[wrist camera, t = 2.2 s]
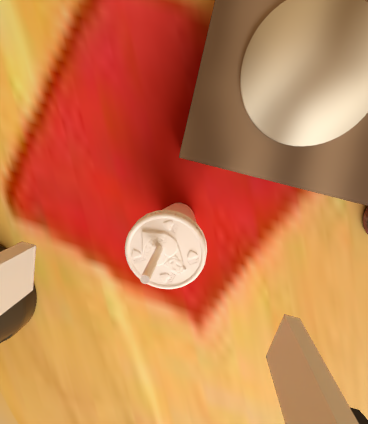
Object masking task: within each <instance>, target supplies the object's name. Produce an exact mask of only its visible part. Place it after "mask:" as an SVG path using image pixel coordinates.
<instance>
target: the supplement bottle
mask: <svg viewBox="0 0 368 424" xmlns="http://www.w3.org/2000/svg"><path fill="white" fill-rule="evenodd" d="M363 226H364V229H365V231H366V233H367V234H368V207H367V208H366V210H365V212H364V216H363Z"/></svg>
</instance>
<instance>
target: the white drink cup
mask: <svg viewBox="0 0 368 424" xmlns="http://www.w3.org/2000/svg"><path fill="white" fill-rule="evenodd" d="M125 254H126V259H127V262H128V264H129V266H130V268H131V270H132V271H133V272H134V274H135V275H136V276H137V277H138V278H139V279H140V280H141V282H142V283H144V284H149V285H151V286H153V287H157V288H161V289H175V288H180V287H183V286H185V285H187V284H189V283H190V282H192V281H193V280H194V279H196V277H197V276H198V275H199V274H200V273H201V271H202V269H203V267H204V264H205V260H206V254H207V244H206V239H205V237H204V234H203V231H202V230H201V229H200V227H199V226H198V225H197V223H196V219H195V216H194V213H193V211H192V209H191V208H190V207H189V206H187V205H186V204H183V203H174V204H172V205H170V206H168V207H166V208H164V209H163V210H158V211H154V212H151V213H148V214H146V215H145V216H143V217H142V218H140V219H139V220H138V221H137V222H136V224H135V225H134V226H133V227H132V229H131V230H130V232H129V234H128V236H127V239H126V243H125Z"/></svg>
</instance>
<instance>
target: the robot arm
mask: <svg viewBox="0 0 368 424" xmlns="http://www.w3.org/2000/svg"><path fill="white" fill-rule="evenodd" d="M35 252H36V245H32V244H29V243H25V242H20V243H18V244H16V245H14V246H12V247H10V248H8V249H5V248H4V247H2V246H0V343H1V342H3V341H5V340H7V339H9V338H10V337H12V336H13V335H14V334H16V333H17V332H18V331H19V330H20V329H21V328H22V327H23V326H24V325H25V324H26V323H27V322H28V321H29V320H30V319H31V317H32V315H33V313H34V311H35V307H36V291H35V286H34V283H33V282H34V267H35ZM266 358H267V362H268V365H269V369H270V372H271V376H272V379H273V383H274V386H275V389H276V393H277V396H278V400H279V403H280V407H281V410H282V414H283V417H284V420H285V424H368V420H367V419H366V417H365V416H364V415H363V414H362V413H361V412H360V411H359V410H357V409H354V408H350V407H349V405H348V403H347V402H346V400H345V398H344V396H343V395H342V393H341V391H340V389H339V387H338V386H337V384H336V382H335V380H334V379H333V377H332V375H331V373H330V371H329V370H328V368H327V366H326V364H325V363H324V361H323V359H322V357H321V355H320V354H319V352H318V350H317V348H316V347H315V345H314V343H313V341H312V340H311V338H310V336H309V334H308V332H307V331H306V329H305V327H304V325H303V324H302V322H301V320H300V318H296V317H293V316H289V315H285V314H284V317H283V319H282V321H281V323H280V326H279V328H278V330H277V332H276V335H275V337H274V339H273V341H272V344H271V346H270V348H269V351H268V353H267V355H266Z"/></svg>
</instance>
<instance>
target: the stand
mask: <svg viewBox="0 0 368 424" xmlns="http://www.w3.org/2000/svg"><path fill="white" fill-rule="evenodd" d="M179 158H183V159H187V160H191V161H194V162H198V163H202V164H206V165H210V166H214V167H218V168H222V169H226V170H230V171H234V172H238V173H242V174H245V175H249V176H253V177H257V178H261V179H265V180H269V181H273V182H277V183H281V184H285V185H289V186H292V187H296V188H300V189H304V190H308V191H312V192H316V193H320V194H324V195H328V196H332V197H336V198H340V199H343V200H347V201H351V202H355V203H359V204H363V205H367V206H368V0H215V3H214V8H213V12H212V16H211V21H210V25H209V29H208V34H207V38H206V42H205V47H204V51H203V55H202V60H201V64H200V68H199V73H198V77H197V81H196V85H195V90H194V94H193V98H192V103H191V107H190V111H189V116H188V120H187V124H186V129H185V133H184V137H183V142H182V146H181V150H180V155H179Z"/></svg>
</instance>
